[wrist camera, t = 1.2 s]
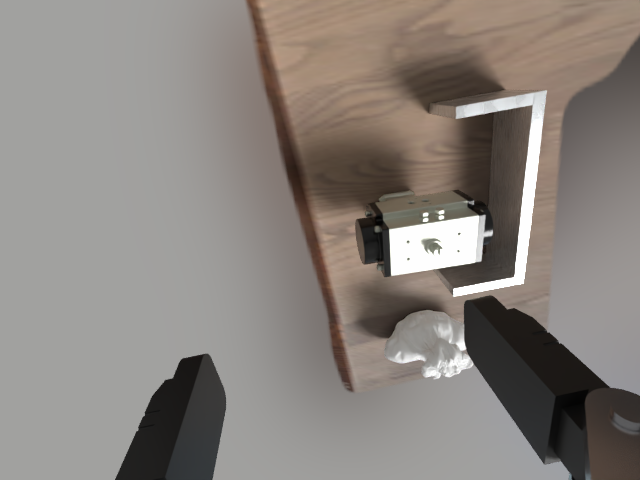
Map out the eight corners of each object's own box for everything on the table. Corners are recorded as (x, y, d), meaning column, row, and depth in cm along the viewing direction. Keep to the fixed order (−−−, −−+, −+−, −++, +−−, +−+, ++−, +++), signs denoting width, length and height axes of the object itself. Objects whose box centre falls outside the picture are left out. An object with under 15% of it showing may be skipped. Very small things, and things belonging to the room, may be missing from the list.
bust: (453, 302, 48) (488, 299, 37) (469, 356, 46) (511, 370, 35) (372, 320, 48) (382, 322, 37) (385, 374, 46) (400, 394, 35)
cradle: (429, 103, 34) (456, 106, 29) (505, 89, 34) (546, 90, 29) (432, 269, 43) (453, 296, 37) (493, 258, 43) (523, 283, 37)
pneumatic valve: (444, 216, 40) (504, 265, 29) (348, 231, 39) (371, 287, 29) (446, 171, 37) (511, 205, 26) (343, 186, 37) (367, 228, 26)
